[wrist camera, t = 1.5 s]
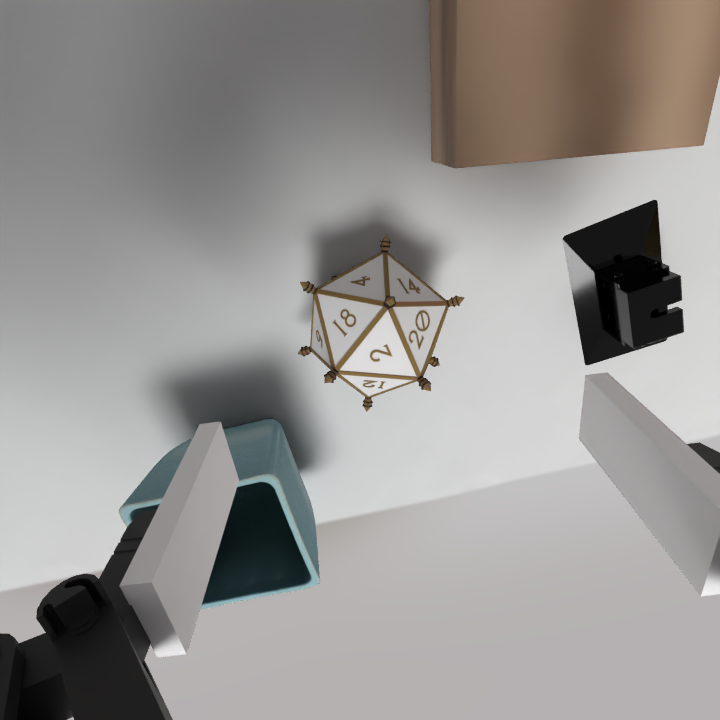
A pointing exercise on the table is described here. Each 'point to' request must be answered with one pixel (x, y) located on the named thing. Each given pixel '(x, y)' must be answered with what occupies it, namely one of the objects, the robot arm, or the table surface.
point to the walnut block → (569, 77)
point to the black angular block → (622, 285)
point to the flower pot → (250, 517)
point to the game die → (376, 325)
